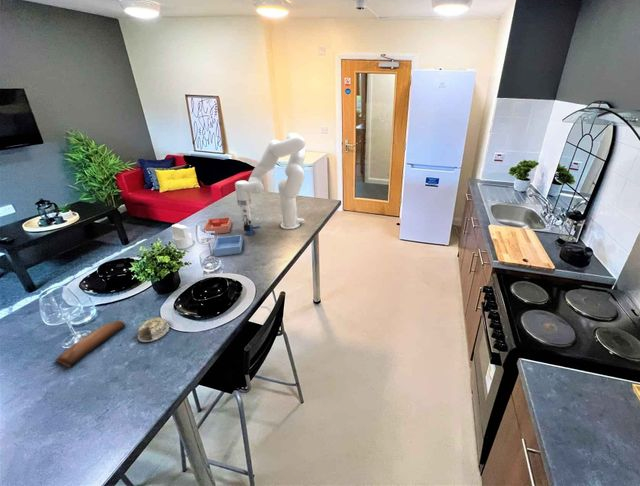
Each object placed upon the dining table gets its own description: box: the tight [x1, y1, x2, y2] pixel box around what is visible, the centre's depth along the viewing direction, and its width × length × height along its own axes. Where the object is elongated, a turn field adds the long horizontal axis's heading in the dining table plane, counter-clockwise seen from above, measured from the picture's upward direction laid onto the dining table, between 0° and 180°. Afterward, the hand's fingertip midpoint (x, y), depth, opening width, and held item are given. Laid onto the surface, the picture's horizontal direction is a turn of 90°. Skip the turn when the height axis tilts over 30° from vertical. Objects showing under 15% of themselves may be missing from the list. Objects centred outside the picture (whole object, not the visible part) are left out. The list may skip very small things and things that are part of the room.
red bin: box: [203, 216, 232, 235], centre depth 183 cm, size 13×13×4 cm
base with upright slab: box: [171, 223, 194, 250], centre depth 163 cm, size 9×9×12 cm
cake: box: [137, 317, 171, 343], centre depth 108 cm, size 10×10×5 cm
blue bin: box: [212, 234, 244, 257], centre depth 162 cm, size 13×13×4 cm
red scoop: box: [212, 220, 227, 227], centre depth 183 cm, size 9×5×5 cm, turn 107°
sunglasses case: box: [55, 320, 126, 368], centre depth 103 cm, size 18×7×7 cm
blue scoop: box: [245, 223, 261, 236], centre depth 179 cm, size 9×5×5 cm, turn 107°
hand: (247, 227), depth 177 cm, fingers open, 9 cm apart
